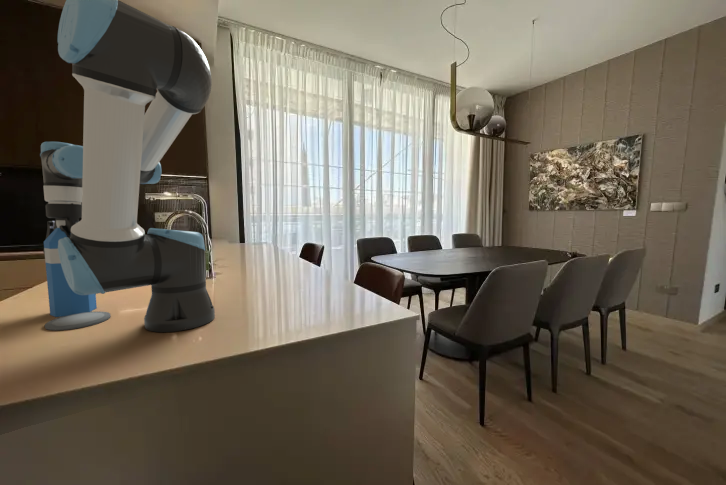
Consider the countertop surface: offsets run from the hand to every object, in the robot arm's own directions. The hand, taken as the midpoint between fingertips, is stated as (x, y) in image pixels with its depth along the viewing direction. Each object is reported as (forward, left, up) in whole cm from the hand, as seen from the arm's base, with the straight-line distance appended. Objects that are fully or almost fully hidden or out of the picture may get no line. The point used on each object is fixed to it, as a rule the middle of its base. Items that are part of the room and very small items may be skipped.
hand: (71, 281), depth 83 cm
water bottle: (0, 0, -8) cm, 8 cm away
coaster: (-11, +4, -8) cm, 14 cm away
